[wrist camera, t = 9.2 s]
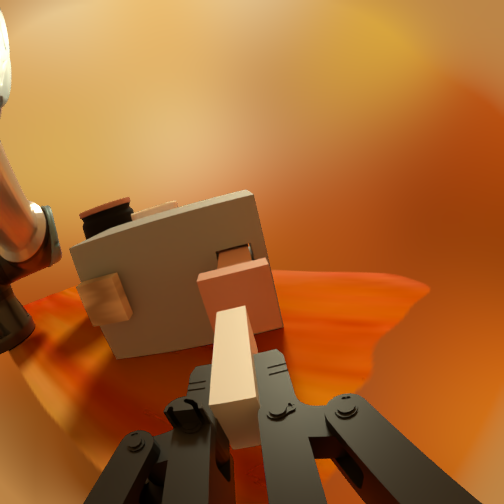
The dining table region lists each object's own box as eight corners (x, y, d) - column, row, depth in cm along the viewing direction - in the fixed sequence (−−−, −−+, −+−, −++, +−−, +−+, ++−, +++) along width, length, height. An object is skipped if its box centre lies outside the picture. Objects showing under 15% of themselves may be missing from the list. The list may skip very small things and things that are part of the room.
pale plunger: (93, 326, 25) (76, 286, 24) (129, 284, 37) (118, 254, 36) (129, 320, 25) (111, 277, 24) (157, 277, 37) (147, 245, 36)
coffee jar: (166, 284, 52) (138, 193, 47) (120, 309, 44) (86, 210, 39) (142, 279, 59) (118, 201, 54) (102, 299, 51) (74, 216, 46)
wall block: (116, 359, 28) (69, 248, 25) (141, 314, 40) (111, 227, 36) (283, 327, 29) (253, 194, 25) (268, 285, 40) (245, 189, 36)
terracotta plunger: (216, 341, 18) (196, 281, 17) (221, 279, 30) (209, 239, 29) (282, 326, 18) (268, 264, 17) (262, 268, 30) (252, 228, 29)
